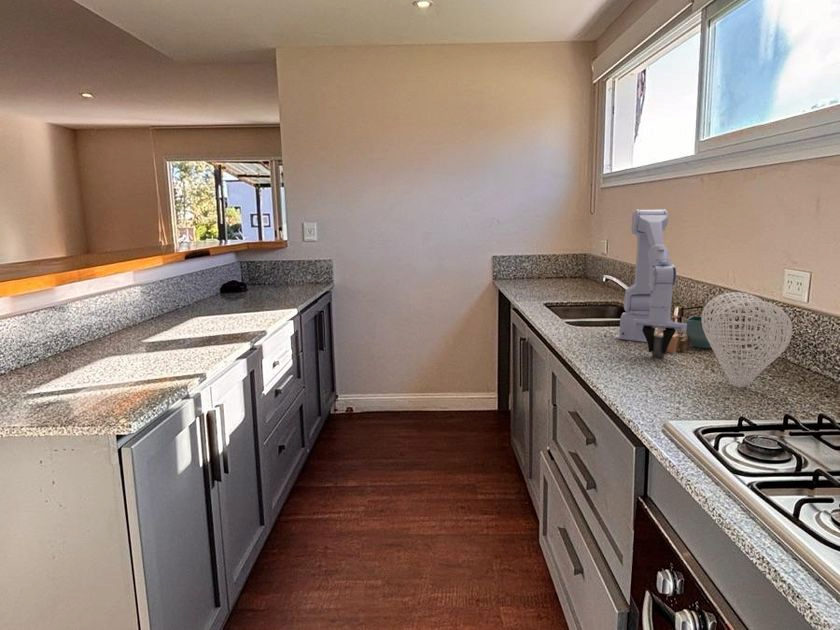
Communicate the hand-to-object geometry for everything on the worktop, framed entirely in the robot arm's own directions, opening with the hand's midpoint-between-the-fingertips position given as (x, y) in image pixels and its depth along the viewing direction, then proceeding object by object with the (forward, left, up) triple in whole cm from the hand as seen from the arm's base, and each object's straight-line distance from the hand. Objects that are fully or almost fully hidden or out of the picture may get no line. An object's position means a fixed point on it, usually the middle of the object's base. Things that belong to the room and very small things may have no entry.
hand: (657, 352), depth 168 cm
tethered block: (0, +6, -1) cm, 6 cm away
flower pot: (+8, +23, -2) cm, 24 cm away
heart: (+24, -21, -2) cm, 32 cm away
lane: (0, +14, -1) cm, 14 cm away
